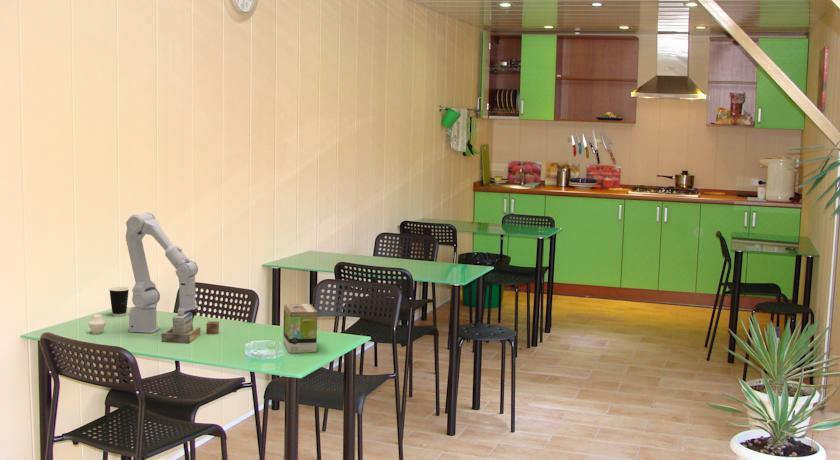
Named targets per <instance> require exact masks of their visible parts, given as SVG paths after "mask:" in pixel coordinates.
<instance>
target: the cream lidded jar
mask: <svg viewBox="0 0 840 460" xmlns="http://www.w3.org/2000/svg"><path fill="white" fill-rule="evenodd" d="M106 324H107V322H106V320H105V319H104V318H103V316H102V315H101V314H94V315H92V316H91V319H90V320H89V321H88V328H90V331H91V332H92V334H95V335H96V334H102V333H103V332H104V329H105V327H106Z"/></svg>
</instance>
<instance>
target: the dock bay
mask: <svg viewBox="0 0 840 460" xmlns="http://www.w3.org/2000/svg"><path fill="white" fill-rule="evenodd" d="M200 336H201V327H199V326H197V327H195V329H194V328H193V331H191V332H190V333H188V334H176V333H173V326H172V327H170V328H169V329H167V330H165V331H163V332H162V333H161V342H162V343H180V344H190V343H192V342H193V341H194V340H196V339H197V338H199V337H200Z"/></svg>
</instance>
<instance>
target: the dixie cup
mask: <svg viewBox="0 0 840 460" xmlns="http://www.w3.org/2000/svg"><path fill="white" fill-rule="evenodd" d="M108 290H109V298H110V305H111V313H112V316H113V317H125V316H126V314H127V311H128V298H129V290H130V288H129V286H113V287H109V288H108Z"/></svg>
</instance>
